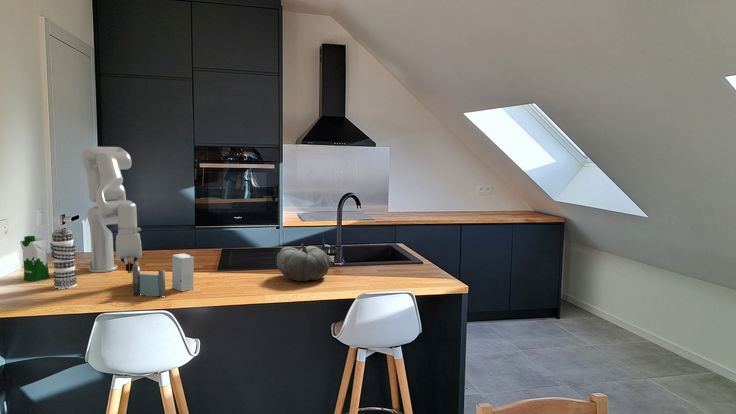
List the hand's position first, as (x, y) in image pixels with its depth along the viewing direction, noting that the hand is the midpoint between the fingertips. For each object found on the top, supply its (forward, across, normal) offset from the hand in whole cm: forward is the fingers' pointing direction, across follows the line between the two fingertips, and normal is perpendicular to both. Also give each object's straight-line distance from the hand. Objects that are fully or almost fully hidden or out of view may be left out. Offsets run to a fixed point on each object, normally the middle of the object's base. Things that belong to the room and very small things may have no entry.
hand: (129, 272), depth 223 cm
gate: (+5, -3, +5) cm, 7 cm away
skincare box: (+6, -21, +13) cm, 26 cm away
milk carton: (+6, +39, -27) cm, 48 cm away
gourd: (+6, -75, +15) cm, 77 cm away
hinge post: (+6, -3, +16) cm, 17 cm away
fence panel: (+6, -9, +20) cm, 22 cm away
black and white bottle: (+6, +26, -9) cm, 28 cm away
